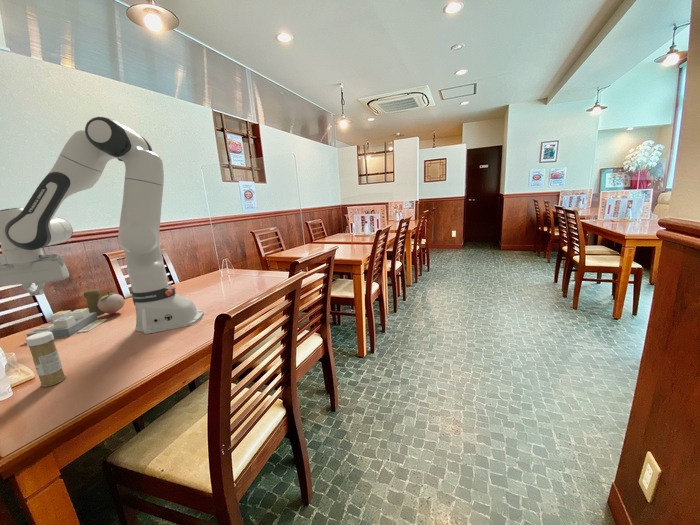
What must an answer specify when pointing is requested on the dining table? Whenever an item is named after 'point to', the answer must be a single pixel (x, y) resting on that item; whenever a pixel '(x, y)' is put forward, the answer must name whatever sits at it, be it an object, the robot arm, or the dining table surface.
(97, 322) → the strip
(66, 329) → the keypad board
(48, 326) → the key
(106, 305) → the decorative fruit
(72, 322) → the key
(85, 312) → the key
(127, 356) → the dining table surface
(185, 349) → the dining table surface
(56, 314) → the key
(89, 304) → the olive green cup
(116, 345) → the dining table surface
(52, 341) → the sprinkles bottle
